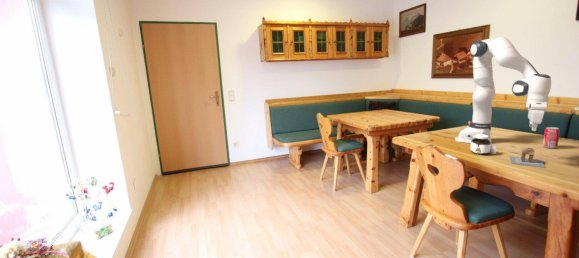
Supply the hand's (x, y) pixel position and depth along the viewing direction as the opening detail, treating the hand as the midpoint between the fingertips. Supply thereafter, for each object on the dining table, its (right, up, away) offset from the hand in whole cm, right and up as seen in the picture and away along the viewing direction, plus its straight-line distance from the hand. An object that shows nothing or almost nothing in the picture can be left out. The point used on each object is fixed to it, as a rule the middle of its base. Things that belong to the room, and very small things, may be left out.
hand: (532, 128), depth 156 cm
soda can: (+34, -12, +26) cm, 45 cm away
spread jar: (-13, -16, +21) cm, 29 cm away
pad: (-1, -19, +3) cm, 19 cm away
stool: (-1, -18, +2) cm, 18 cm away
